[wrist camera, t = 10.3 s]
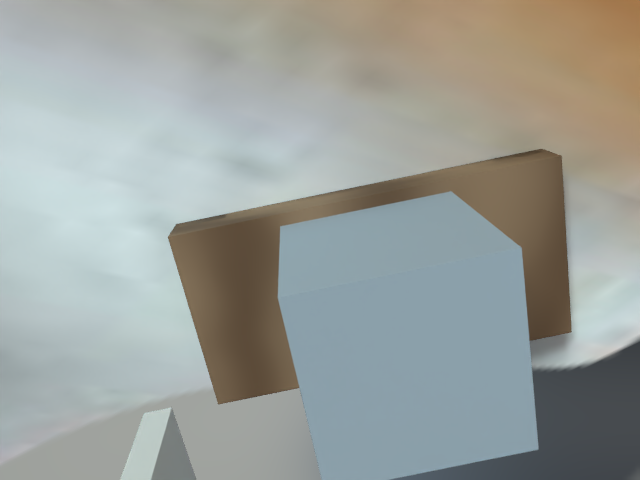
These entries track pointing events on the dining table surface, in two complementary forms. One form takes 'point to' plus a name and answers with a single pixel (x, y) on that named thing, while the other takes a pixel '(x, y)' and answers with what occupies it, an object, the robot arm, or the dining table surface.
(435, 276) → the cube
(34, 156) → the dining table surface
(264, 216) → the board
